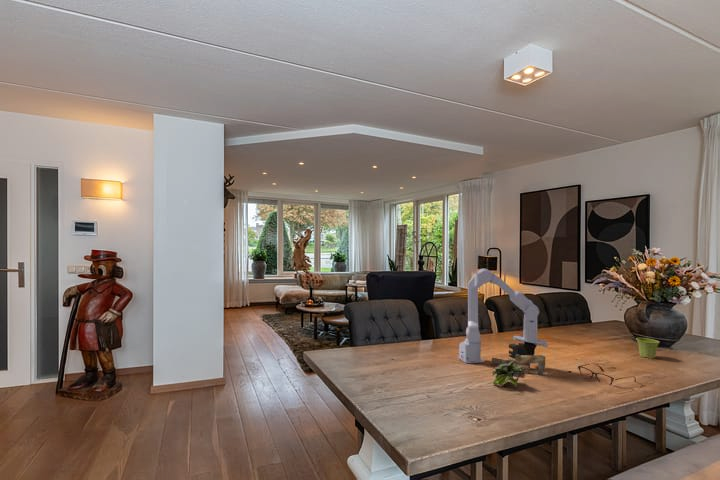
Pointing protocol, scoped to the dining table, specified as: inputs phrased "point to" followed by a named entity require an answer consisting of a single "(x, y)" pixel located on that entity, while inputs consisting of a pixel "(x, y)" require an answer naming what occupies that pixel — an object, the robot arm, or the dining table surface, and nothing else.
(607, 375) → the eyeglasses
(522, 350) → the end cap
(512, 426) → the dining table surface
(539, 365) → the stool base
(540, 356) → the hinged leg
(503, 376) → the leafy green plant
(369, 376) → the dining table surface
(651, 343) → the plant pot
